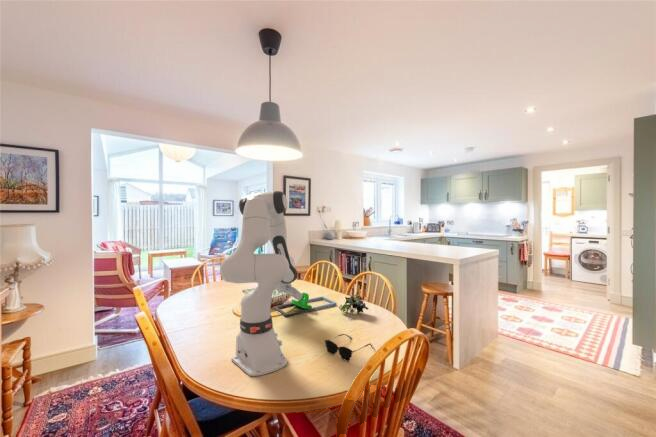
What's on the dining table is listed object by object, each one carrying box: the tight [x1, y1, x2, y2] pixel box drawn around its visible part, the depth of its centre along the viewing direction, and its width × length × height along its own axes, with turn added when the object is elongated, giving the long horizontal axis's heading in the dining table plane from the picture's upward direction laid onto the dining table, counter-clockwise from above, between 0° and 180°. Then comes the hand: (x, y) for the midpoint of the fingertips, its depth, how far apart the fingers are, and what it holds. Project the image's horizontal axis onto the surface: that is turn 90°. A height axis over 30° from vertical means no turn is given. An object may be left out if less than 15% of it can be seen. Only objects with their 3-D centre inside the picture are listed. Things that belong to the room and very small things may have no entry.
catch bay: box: [308, 295, 337, 311], centre depth 165 cm, size 15×15×2 cm
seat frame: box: [273, 302, 316, 318], centre depth 156 cm, size 16×18×1 cm
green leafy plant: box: [338, 294, 369, 317], centre depth 148 cm, size 13×12×14 cm
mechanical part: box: [290, 292, 313, 310], centre depth 160 cm, size 12×6×8 cm, turn 41°
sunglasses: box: [324, 333, 373, 362], centre depth 111 cm, size 14×16×5 cm
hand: (298, 298), depth 158 cm, fingers closed
